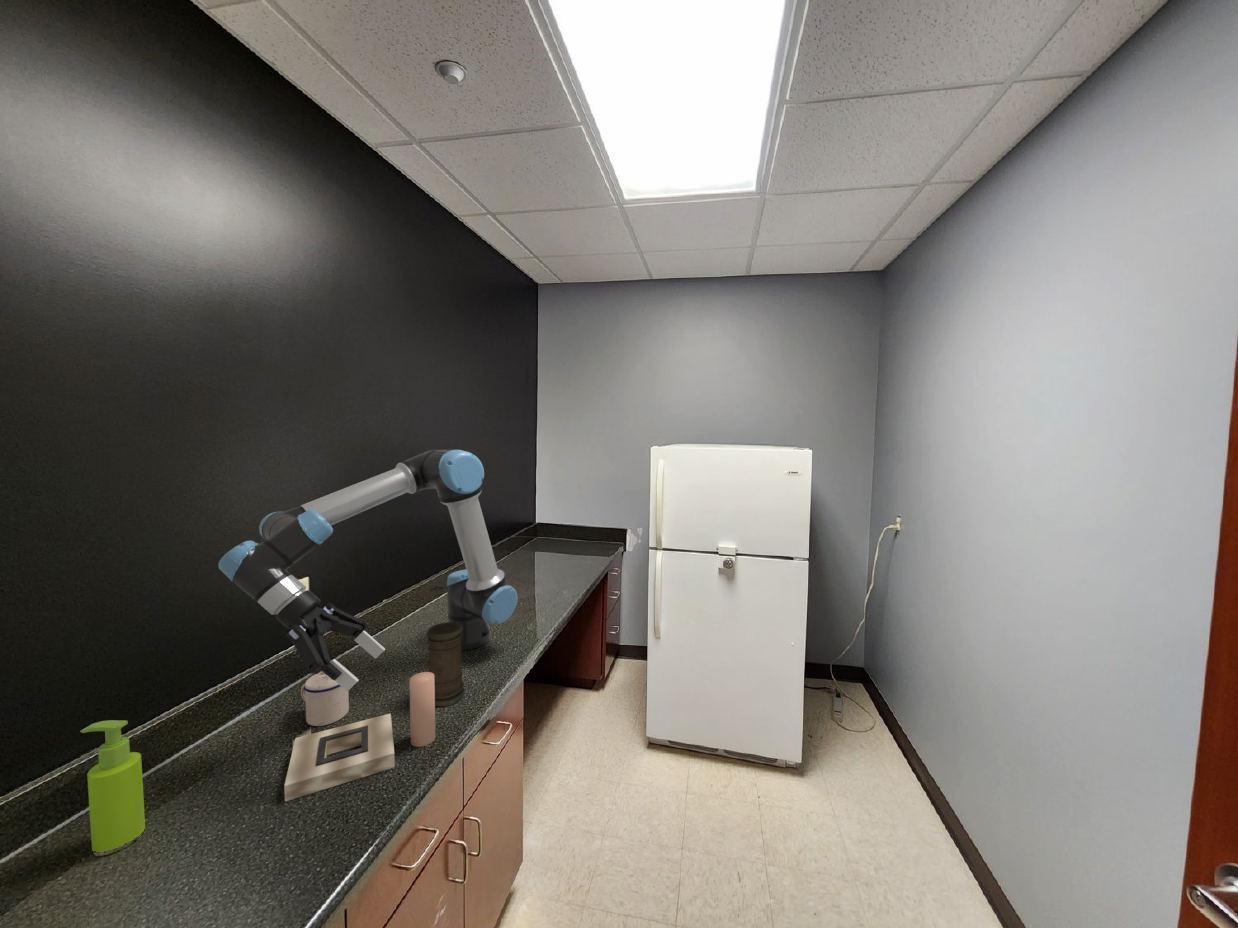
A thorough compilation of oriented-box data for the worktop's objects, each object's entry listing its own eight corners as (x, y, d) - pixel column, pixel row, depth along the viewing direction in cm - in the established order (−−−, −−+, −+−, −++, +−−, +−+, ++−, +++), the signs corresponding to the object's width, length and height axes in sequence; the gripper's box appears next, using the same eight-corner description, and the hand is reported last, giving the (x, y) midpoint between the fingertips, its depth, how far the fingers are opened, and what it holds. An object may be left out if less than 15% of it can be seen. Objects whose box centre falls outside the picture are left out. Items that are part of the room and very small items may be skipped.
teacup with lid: (359, 707, 112) (357, 661, 111) (327, 730, 103) (325, 680, 102) (319, 700, 114) (318, 655, 114) (285, 722, 106) (283, 673, 105)
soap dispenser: (111, 826, 77) (104, 713, 76) (155, 823, 78) (149, 711, 77) (73, 858, 71) (65, 736, 70) (120, 855, 72) (113, 734, 71)
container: (452, 708, 111) (451, 637, 110) (419, 704, 113) (418, 634, 112) (471, 689, 120) (470, 622, 119) (440, 685, 122) (439, 619, 121)
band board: (390, 725, 105) (390, 711, 104) (394, 767, 92) (394, 751, 91) (295, 751, 96) (295, 736, 96) (284, 801, 83) (284, 783, 83)
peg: (433, 729, 104) (432, 669, 103) (436, 742, 99) (435, 680, 98) (409, 736, 101) (408, 675, 100) (411, 749, 97) (410, 686, 96)
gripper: (311, 594, 107) (378, 654, 110) (235, 641, 83) (324, 716, 85) (334, 572, 108) (401, 631, 110) (265, 611, 83) (354, 687, 86)
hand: (368, 668), depth 98 cm, fingers open, 13 cm apart
